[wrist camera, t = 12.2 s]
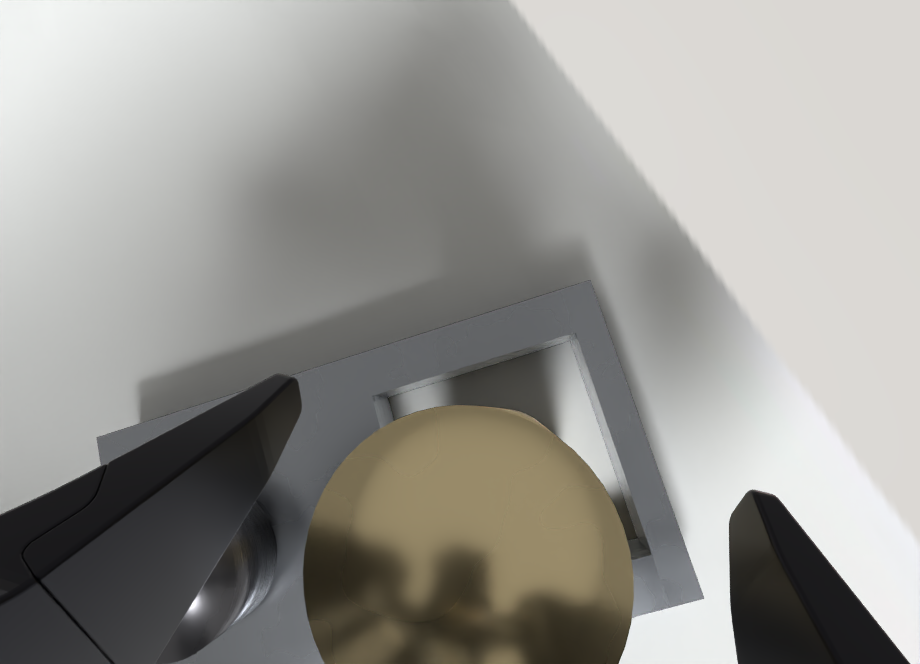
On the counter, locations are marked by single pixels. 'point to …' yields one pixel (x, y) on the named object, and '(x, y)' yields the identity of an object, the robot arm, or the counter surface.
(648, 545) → the grey block with opening
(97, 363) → the counter surface
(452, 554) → the brass cylinder
